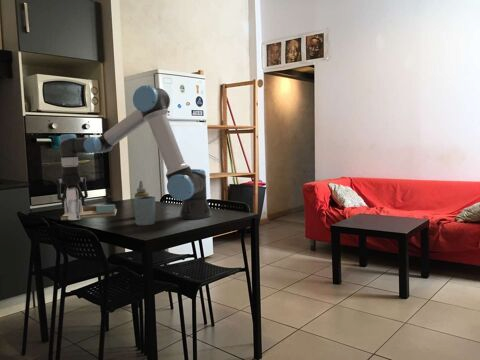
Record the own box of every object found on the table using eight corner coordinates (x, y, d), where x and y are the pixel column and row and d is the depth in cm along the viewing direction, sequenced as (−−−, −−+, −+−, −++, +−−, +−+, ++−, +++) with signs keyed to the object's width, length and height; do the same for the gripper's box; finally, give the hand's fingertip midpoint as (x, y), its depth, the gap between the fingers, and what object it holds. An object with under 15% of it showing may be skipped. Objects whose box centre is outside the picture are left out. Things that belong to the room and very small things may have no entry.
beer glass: (85, 217, 210) (83, 187, 208) (76, 220, 203) (73, 189, 202) (73, 217, 212) (70, 188, 210) (63, 220, 205) (61, 189, 204)
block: (114, 212, 218) (114, 205, 218) (96, 214, 216) (96, 206, 216) (115, 212, 220) (114, 204, 220) (97, 213, 218) (96, 205, 217)
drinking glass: (134, 226, 188) (133, 199, 186) (133, 222, 197) (132, 196, 196) (157, 224, 190) (156, 197, 189) (155, 220, 200) (154, 195, 199)
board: (114, 216, 217) (114, 208, 216) (60, 220, 211) (60, 212, 210) (116, 211, 233) (116, 204, 233) (66, 214, 227) (66, 207, 227)
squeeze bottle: (147, 218, 206) (145, 181, 205) (131, 218, 208) (129, 182, 206) (153, 215, 214) (151, 180, 213) (139, 215, 216) (136, 180, 214)
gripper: (92, 164, 211) (95, 210, 213) (50, 167, 206) (54, 213, 209) (90, 165, 204) (94, 212, 206) (47, 167, 199) (51, 216, 201)
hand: (74, 213), depth 207 cm, fingers closed on beer glass, 6 cm apart
